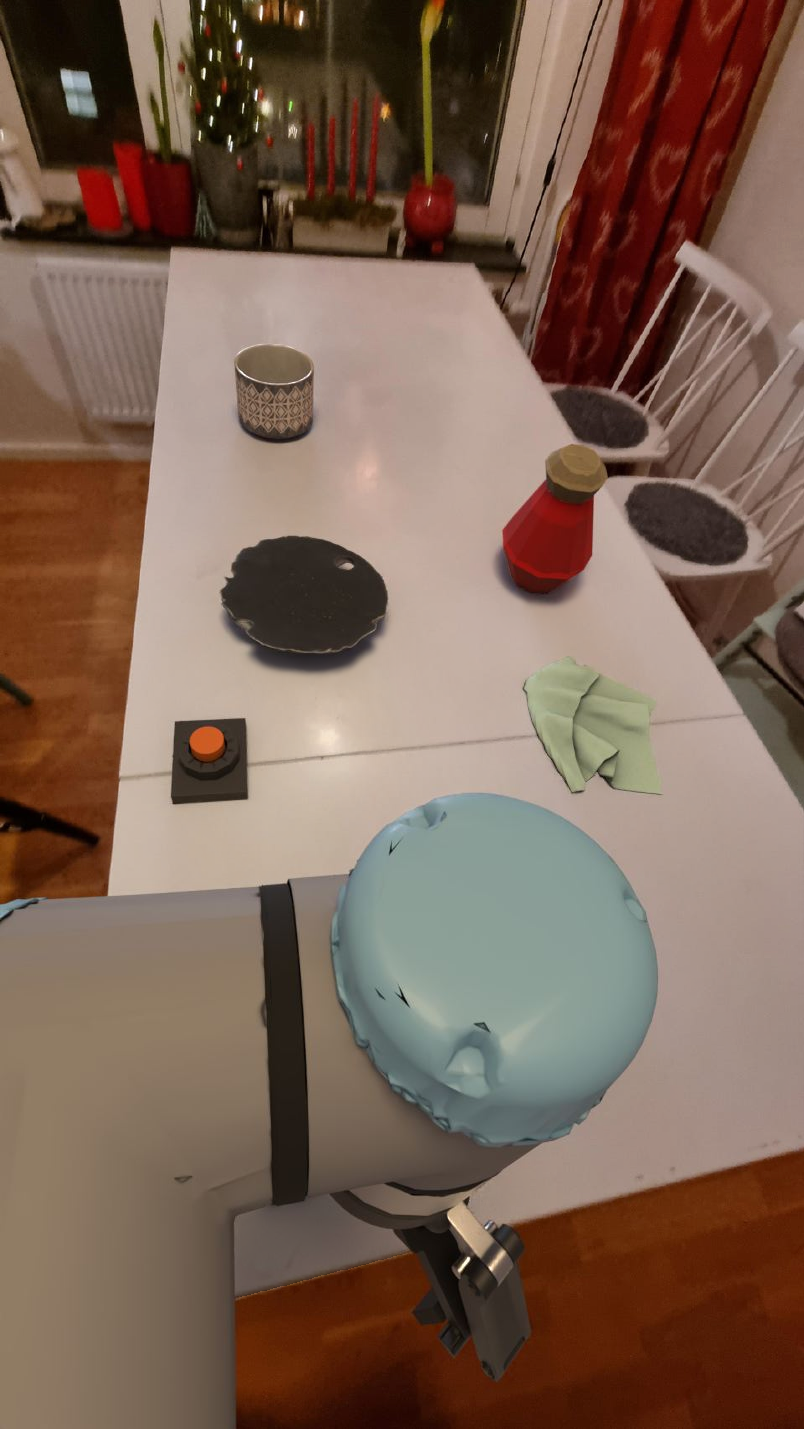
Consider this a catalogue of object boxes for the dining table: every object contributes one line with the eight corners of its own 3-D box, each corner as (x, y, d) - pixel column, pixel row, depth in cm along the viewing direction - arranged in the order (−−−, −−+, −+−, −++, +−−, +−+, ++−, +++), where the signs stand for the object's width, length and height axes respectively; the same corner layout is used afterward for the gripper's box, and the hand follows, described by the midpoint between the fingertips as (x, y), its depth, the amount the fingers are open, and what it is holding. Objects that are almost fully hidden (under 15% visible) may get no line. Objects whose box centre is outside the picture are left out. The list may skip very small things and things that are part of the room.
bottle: (502, 530, 111) (537, 413, 95) (584, 553, 110) (634, 439, 94) (482, 594, 102) (517, 477, 85) (572, 620, 101) (624, 506, 85)
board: (352, 549, 104) (354, 522, 100) (410, 656, 93) (415, 629, 89) (204, 577, 97) (200, 548, 93) (248, 696, 86) (246, 669, 82)
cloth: (556, 643, 97) (561, 631, 96) (700, 726, 92) (708, 716, 90) (481, 735, 87) (485, 724, 85) (638, 836, 81) (647, 826, 79)
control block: (247, 799, 77) (245, 783, 75) (172, 804, 76) (168, 788, 73) (246, 725, 83) (244, 708, 80) (176, 729, 82) (172, 711, 79)
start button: (225, 761, 76) (223, 752, 75) (191, 763, 76) (189, 754, 74) (225, 734, 78) (223, 725, 77) (192, 736, 78) (190, 727, 76)
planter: (262, 395, 125) (260, 336, 117) (325, 418, 123) (327, 359, 115) (224, 428, 118) (218, 368, 110) (290, 453, 116) (290, 393, 108)
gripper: (744, 1328, 23) (551, 1335, 39) (290, 823, 34) (281, 988, 49) (618, 1575, 19) (459, 1472, 35) (147, 914, 30) (187, 1063, 45)
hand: (355, 1188), depth 42 cm, fingers open, 13 cm apart
